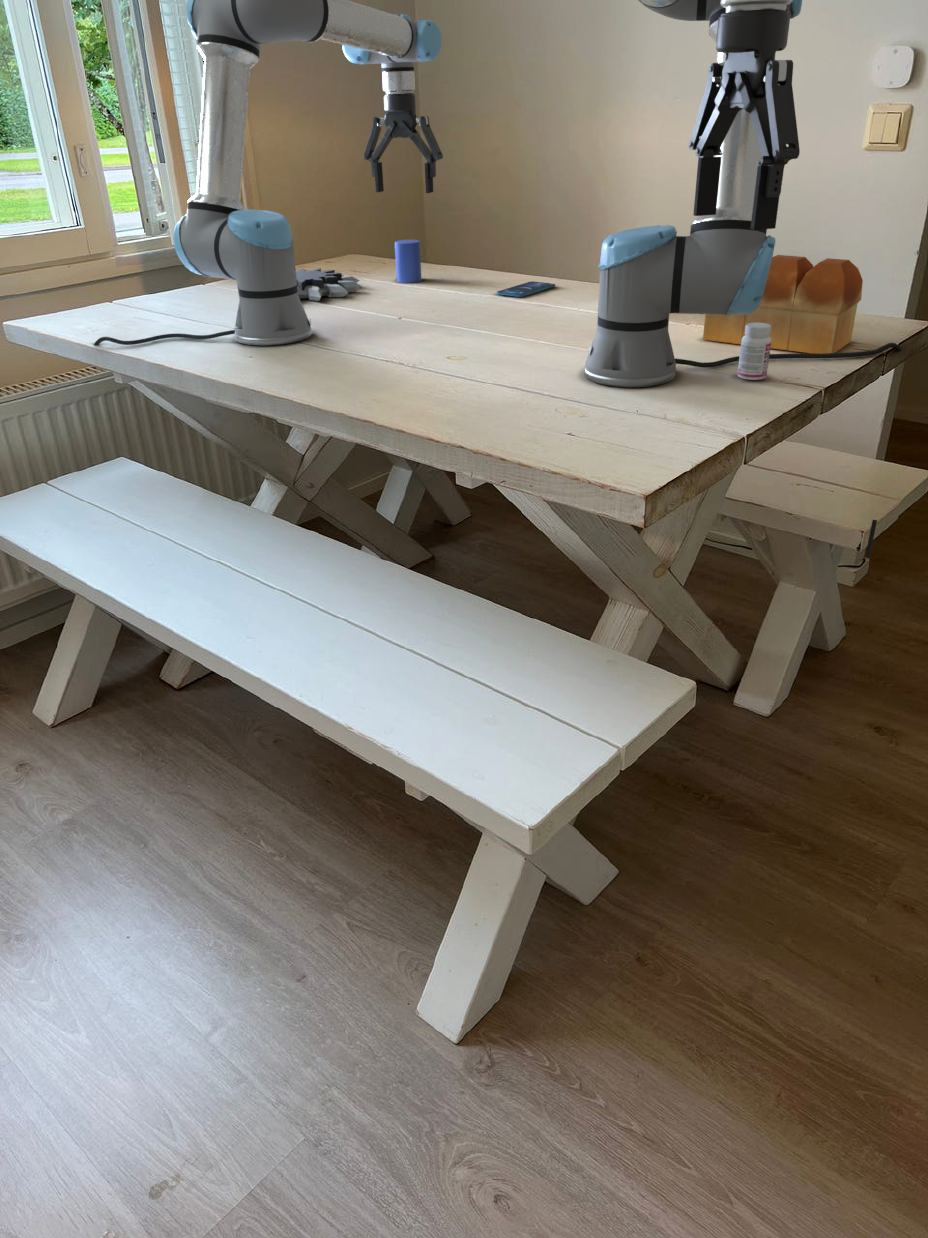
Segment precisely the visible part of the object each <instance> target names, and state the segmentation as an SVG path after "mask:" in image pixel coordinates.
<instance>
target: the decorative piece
mask: <svg viewBox="0 0 928 1238" xmlns="http://www.w3.org/2000/svg"><path fill="white" fill-rule="evenodd" d="M296 279H297V289H298V296H299V299H300V300H302V299H308V300H309V301H314V302H315V301H316V302H319V301H320V300H321V298H322V297H328V298H344V297H345V296H347V295H348V294H349V293H353V292H354V293H355V292H357V291H358V290H359V289H361V288H363V286H362V285H361V284H359V281H360V279H358V278H357V277H354V276H352V275H347V276H345V275H343V274H342V272H335V269H328V270H322V268H321V267H320V268H315V269H312V270H306V269H304V268H300V269H298V270H296Z"/></svg>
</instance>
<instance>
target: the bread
mask: <svg viewBox="0 0 928 1238" xmlns="http://www.w3.org/2000/svg"><path fill="white" fill-rule="evenodd" d="M863 281H864V280H863V277H862V275H861V272H860V270H859V268H858V267H857V266H856V265H855V264H854V263H853V262H852V261H851V260H850V259H843V258H842V259H841V258H829V257H827V258H825V259H823V260H821V261H819V262H818V263H816V264H815V265H814V264H813V263H812V262H811V261H810V260H809V259H808V258H807V257H806V256H798V255H797V256H796V255H785V254H783V255H782V254H776V255H773V257H772V261H771V266H770V270H769V274H768V278H767V282H766V286H765V289H764V293H763V296H762V299H761V302H760V305H759V307H758V308H757V309H756V310H755V311H754V312H753V313H750V314H734V315H729V316H726V315H724V314H704V324H703V335H702V340H704V341H712V342H720V343H726V344H735V345H741V341H742V338H743V337H744V336H745V335H746V334H745V327H746V324H748V323H766V324H770V325H771V333H770V335H769V337H770V338H771V349H775V350H783V351H789V352H790V351H791V352H798V353H804V354H825V353H838V351H840V350H841V349H843V348H844V347H845V346H847V345H848V344H850V343H851V342H852V339H853V338H852V336H853V333H854V332H853V331H854V326H855V320H856V314H857V309H858V304H859V302H861V301H862V293H863V283H864V282H863Z"/></svg>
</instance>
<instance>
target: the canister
mask: <svg viewBox="0 0 928 1238" xmlns="http://www.w3.org/2000/svg"><path fill="white" fill-rule="evenodd" d="M393 244H394V257H395V258H394V259H395V275H396V282H397V283H401V284H415V283H419V282H420V283H421V282H422V280H423V279H422V277H423V276H422V260H421V259H422V257H421V241H420V240H418V239H399V240H395V241H394V243H393Z"/></svg>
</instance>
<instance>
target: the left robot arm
mask: <svg viewBox="0 0 928 1238" xmlns="http://www.w3.org/2000/svg"><path fill="white" fill-rule="evenodd" d="M185 5H186V6H185V11H186V12H185V13H186V20H187V24H188V25H189V26H190V27H191V29H190V32H191V33H192V35H193V36H194V38H195V39H196V49H197V50H198V52H199V53H200V55H201V57H202V58H203V61H204V62H203V74H202V75H203V77H202V93H201V94H202V95H201V109H200V124H199V128H200V129H199V139H198V140H199V142H198V143H199V144H198V158H197V159H198V160H197V175H196V190H195V191H196V192H195V194H194V195H193V196H191V197H190V198H189V199H188V200H187V206H186V207H187V208H186V214H185V215H183V216H181V217H180V218H179V220H178V221H177V222H176V224H175V226H174V230H173V246H174V250H175V253H176V255H177V257H178V259H179V260H180V261H181V263H182V265H183V266H184V267H185V268H186V269H187V270H189V271H190V272H191V273H193V274H196V275H199V276H202V277H206V278H211V279H214V278H216V279H217V278H218V279H225V280H226V279H227V280H234V281H236V286H237V293H238V307H237V312H236V318H235V319H236V320H235V323H234V329H230V330H226V331H220V332H216V333H212V334H190V333H180V332H179V333H178V332H177V333H165V334H158V335H154V336H150V337H145V338H141V339H140V338H139V339H136V340H135V339H132V340H121V339H117V338H114V337H111V336H101V337H99V338H98V339H96V340H95V342H94V343H93V346H99V345H100V344H101V343H102V342H111V343H113V344H117V345H121V346H134V345H140V344H145V343H150V342H154V341H159V340H163V339H172V338H173V339H174V338H183V339H191V340H210V339H215V338H220V337H225V336H230V335H234V337H235V341H236V342H238V343H240V344H243V345H248V346H279V345H286V344H287V345H288V344H292V343H293V344H294V343H297V342H301V341H305V340H306V339H308V338H310V337H311V336H312V327H311V325H312V320H311V318H308V315H307V313H306V310H305V308H304V306H303V303H302V301H301V299H299V296H298V289H297V279H296V271H297V270H296V269H297V268H296V258H295V247H294V237H293V235H292V229H291V228H292V227H291V223H290V221H289V219H288V218H287V217H286V216H284V215H283V214H281V213H279V212H275V211H271V210H265V209H247V208H246V207H245V205H244V204H243V203H242V201H241V200H242V199H241V198H242V184H243V173H244V172H243V170H244V158H245V143H246V130H247V117H248V116H247V115H248V104H249V91H250V90H249V89H250V76H251V69H252V68H254V67H256V65H257V64H258V63H260V52H261V51H260V50H261V45H263V44H264V45H265V44H272V43H273V44H274V43H280V42H281V43H282V42H292V41H297V42H298V41H299V42H306V43H312V44H313V43H315V42H318V41H319V40H322V41H326V42H331V43H335V44H339V45H341V46H342V47H341V49H342V51H343V55H344V57H345V58H346V59H347V60H348V62H350V63H352V64H357V65H360V66H361V65H376V64H378V65H379V64H381V78H382V79H381V80H382V81H381V82H382V91H383V92H385V94H383V96H382V98H383V111H384V117H382V116H380V115H379V116H373V117H372V127H371V131H370V134H369V137H368V140H367V143H366V146H365V149H364V152H363V156H362V158H363V159H364V160H365V161H368V162H370V168H371V170H370V171H371V176H372V177H373V178H374V184H375V193H383V192H385V191H384V188H385V187H384V174H383V162H382V161H380V159H381V158H382V156H383V154H384V153H385V151H386V150H387V148H388V147H389V145H390V143H391V142H392V140H393V139H397V138H398V139H399V138H402V139H406V138H407V139H408V138H409V139H410V140H411V141H412V142H413V143H414V145H415V146H416V147H417V149H418V151H419V152H420V153H421V154H422V156H423V157H424V158H425V160H426V161H427V162H424V180H425V182H424V183H425V194H431V193H434V178H436V176H437V165H436V164H437V162H438V161H440V160H443V158H444V154H443V153H442V150H441V148H440V146H439V144H438V141H437V139H436V137H435V134H434V132H433V129H432V128H431V123H430V117H429V116H428V115H420V116H419V117H418V116H417V104H416V103H417V100H416V98H417V97H416V95H415V93H414V91H415V90H416V83H415V81H416V80H415V79H416V78H415V66H414V63H420V62H421V63H425V62H431V61H435V60H436V59H437V58H438V57H439V55H440V53H441V50H442V33H441V29H440V27H439V26H438V25H437V23H436V22H435V21H433V20H430V19H423V18H422V19H419V20H415V19H412V18H411V17H410V15H409V14H405V13H404V14H403V13H401V14H399V13H398V14H397V13H395V14H393V13H390V12H387V11H384V10H380V9H377V8H374V7H370V6H368V5H364V4H361V3H358V2H354V1H351V0H186V4H185ZM384 126H385V128H386V130H385V131H384V133H383V135H382V138H381V140H380V141H379V143H378V140H379V137H380V134H381V132H382V128H383V127H384ZM417 126H419V127H420V129H421V132H422V134H423V136H424V138H425V140H426V142H427V144H426V142H425V141H424V139H423V138H422V137H421V134H420V133H419V131H418V130H417V129H416V127H417ZM377 144H378V145H377Z"/></svg>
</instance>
